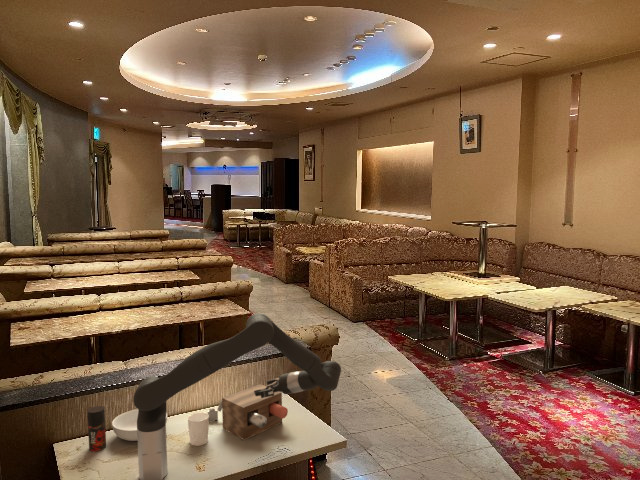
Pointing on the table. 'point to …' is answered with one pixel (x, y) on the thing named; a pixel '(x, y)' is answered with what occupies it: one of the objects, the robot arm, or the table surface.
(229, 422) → the socket block
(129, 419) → the serving bowl
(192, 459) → the table surface
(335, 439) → the table surface
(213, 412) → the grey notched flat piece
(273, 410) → the red plug
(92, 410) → the deodorant
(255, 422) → the grey plug
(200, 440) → the white cup
